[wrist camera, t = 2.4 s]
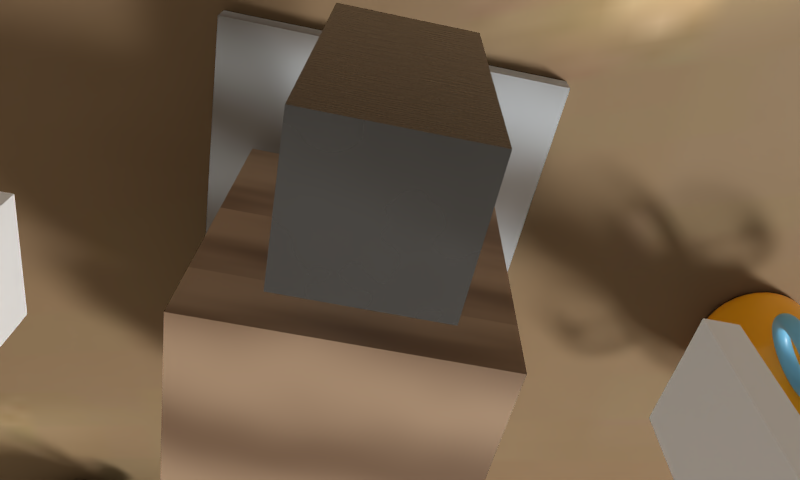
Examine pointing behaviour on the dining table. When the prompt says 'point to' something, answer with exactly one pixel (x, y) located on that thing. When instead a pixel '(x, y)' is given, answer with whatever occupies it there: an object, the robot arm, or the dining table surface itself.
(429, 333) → the block
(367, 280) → the grey mallet
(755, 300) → the cylinder
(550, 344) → the dining table surface
